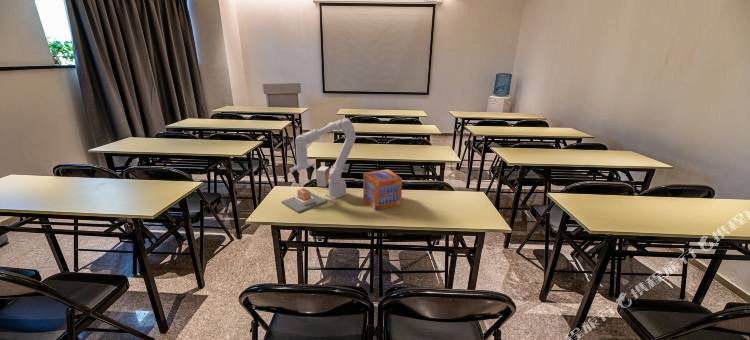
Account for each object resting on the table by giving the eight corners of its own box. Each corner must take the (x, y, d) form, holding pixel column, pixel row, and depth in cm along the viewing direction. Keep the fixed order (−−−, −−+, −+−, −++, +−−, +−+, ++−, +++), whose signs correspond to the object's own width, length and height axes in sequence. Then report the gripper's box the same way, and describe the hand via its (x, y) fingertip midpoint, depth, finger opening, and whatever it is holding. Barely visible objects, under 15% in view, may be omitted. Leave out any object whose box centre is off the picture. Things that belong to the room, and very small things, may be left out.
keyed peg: (310, 201, 164) (310, 191, 162) (304, 203, 161) (303, 193, 159) (304, 198, 168) (303, 188, 166) (298, 200, 165) (297, 190, 163)
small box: (325, 187, 185) (324, 170, 182) (316, 186, 186) (316, 170, 183) (330, 182, 193) (329, 166, 189) (321, 181, 194) (320, 165, 190)
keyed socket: (310, 193, 176) (309, 188, 175) (327, 202, 165) (326, 197, 164) (281, 202, 164) (281, 197, 163) (298, 213, 153) (297, 207, 152)
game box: (401, 205, 164) (402, 178, 159) (375, 210, 157) (375, 182, 152) (387, 194, 177) (388, 168, 172) (363, 198, 171) (363, 172, 165)
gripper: (309, 153, 171) (310, 176, 176) (285, 158, 161) (287, 182, 166) (316, 156, 166) (317, 179, 171) (293, 162, 157) (294, 186, 161)
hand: (303, 181), depth 168 cm, fingers open, 7 cm apart
